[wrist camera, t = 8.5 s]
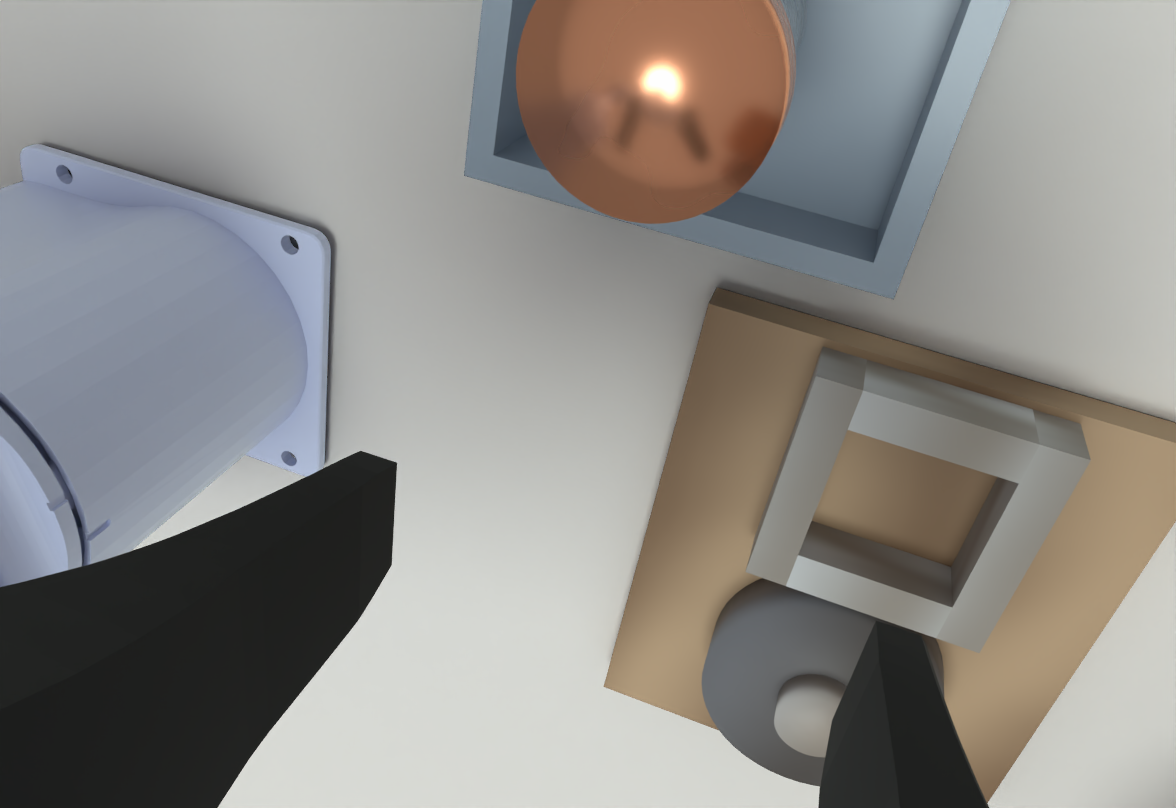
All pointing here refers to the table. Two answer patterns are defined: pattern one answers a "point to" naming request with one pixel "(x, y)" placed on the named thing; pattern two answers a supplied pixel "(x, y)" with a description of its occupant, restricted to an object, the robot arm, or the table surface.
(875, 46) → the tray
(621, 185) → the lock pin
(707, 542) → the pulley board
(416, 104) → the table surface
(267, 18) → the table surface
